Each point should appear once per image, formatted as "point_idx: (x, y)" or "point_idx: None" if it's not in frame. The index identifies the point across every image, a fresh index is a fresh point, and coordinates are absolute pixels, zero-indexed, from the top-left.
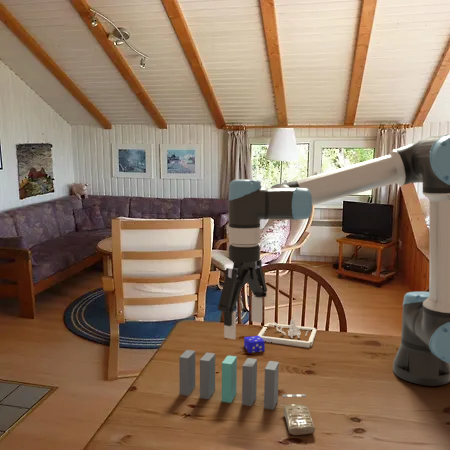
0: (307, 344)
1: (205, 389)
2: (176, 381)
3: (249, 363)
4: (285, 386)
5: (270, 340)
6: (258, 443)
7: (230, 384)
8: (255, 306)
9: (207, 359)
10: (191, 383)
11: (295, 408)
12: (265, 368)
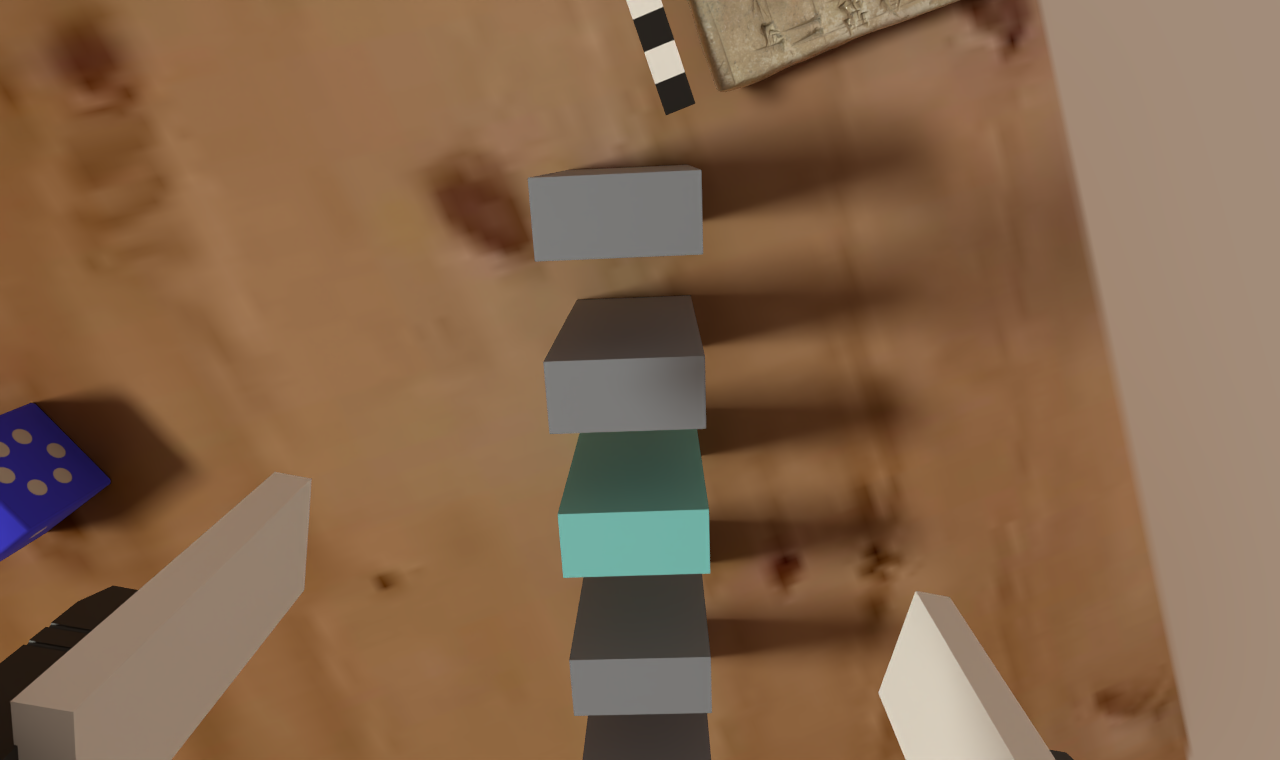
0: None
1: None
2: (575, 719)
3: (646, 393)
4: (375, 167)
5: None
6: (1050, 152)
7: (699, 451)
8: (192, 679)
9: (688, 673)
10: None
11: (752, 2)
12: (694, 251)
